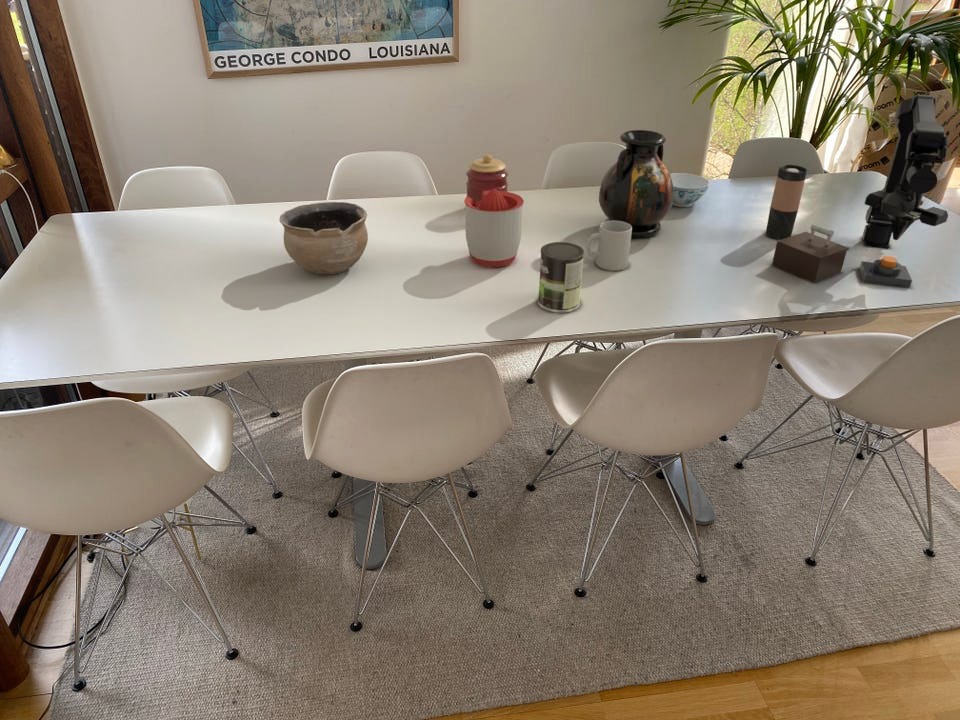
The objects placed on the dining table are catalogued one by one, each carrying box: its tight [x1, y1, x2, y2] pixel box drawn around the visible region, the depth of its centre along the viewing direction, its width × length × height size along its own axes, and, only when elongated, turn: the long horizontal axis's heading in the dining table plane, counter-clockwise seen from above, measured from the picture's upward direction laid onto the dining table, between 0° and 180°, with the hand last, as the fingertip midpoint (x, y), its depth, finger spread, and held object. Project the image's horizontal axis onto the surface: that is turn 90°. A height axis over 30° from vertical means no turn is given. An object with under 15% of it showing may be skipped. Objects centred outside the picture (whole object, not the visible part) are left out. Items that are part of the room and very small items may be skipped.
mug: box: [586, 220, 632, 272], centre depth 206 cm, size 12×8×11 cm
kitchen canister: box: [465, 153, 509, 203], centre depth 239 cm, size 13×13×18 cm
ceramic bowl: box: [278, 201, 369, 275], centre depth 202 cm, size 22×22×15 cm
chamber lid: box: [776, 223, 850, 261], centre depth 203 cm, size 12×13×5 cm
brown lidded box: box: [771, 243, 848, 284], centre depth 206 cm, size 11×13×6 cm
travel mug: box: [765, 164, 808, 241], centre depth 223 cm, size 8×8×20 cm
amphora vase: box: [598, 129, 674, 239], centre depth 223 cm, size 22×22×28 cm
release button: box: [880, 255, 898, 268], centre depth 201 cm, size 4×4×2 cm
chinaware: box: [670, 172, 710, 208], centre depth 248 cm, size 15×15×8 cm
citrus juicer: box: [463, 189, 525, 269], centre depth 206 cm, size 16×17×20 cm
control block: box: [859, 258, 913, 289], centre depth 202 cm, size 11×9×4 cm
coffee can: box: [537, 241, 585, 314], centre depth 185 cm, size 10×10×14 cm
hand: (895, 239), depth 198 cm, fingers closed
